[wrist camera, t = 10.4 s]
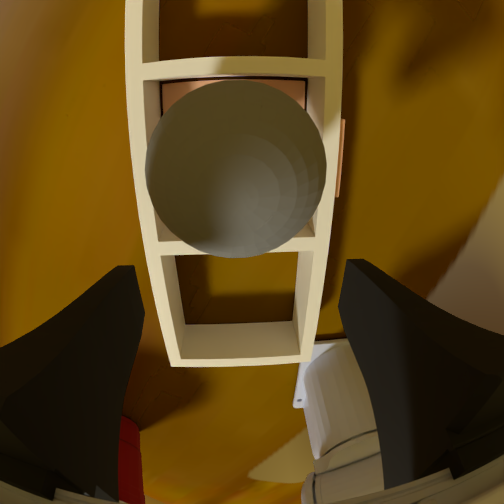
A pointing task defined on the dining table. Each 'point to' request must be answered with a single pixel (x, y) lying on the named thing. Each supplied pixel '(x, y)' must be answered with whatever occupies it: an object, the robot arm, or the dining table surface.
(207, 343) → the rack
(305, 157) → the light bulb
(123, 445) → the plastic cup
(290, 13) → the dining table surface
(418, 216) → the dining table surface
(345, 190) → the dining table surface
